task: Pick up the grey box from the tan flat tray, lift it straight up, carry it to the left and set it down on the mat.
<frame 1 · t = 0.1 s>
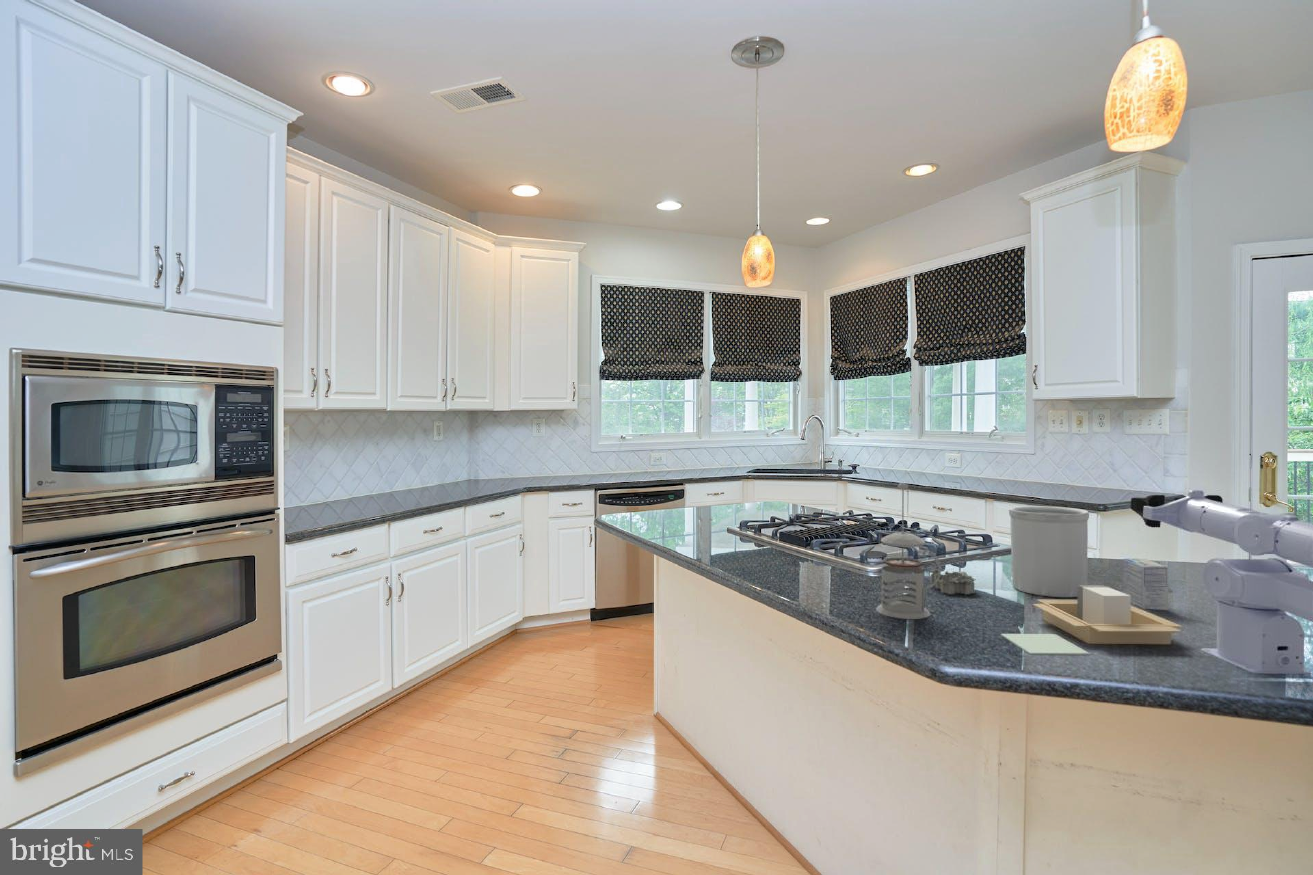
hand: (1154, 503, 115), 22 cm above the countertop, tool horizontal, fingers open, 7 cm apart
tan flat tray: (1103, 632, 110), on the countertop
french press: (907, 612, 123), on the countertop
medicine box: (1144, 606, 126), on the countertop
utensil holder: (1047, 590, 138), on the countertop
grey box: (1103, 630, 110), resting on tan flat tray
mat: (1043, 646, 103), on the countertop
egg carton: (952, 590, 140), on the countertop
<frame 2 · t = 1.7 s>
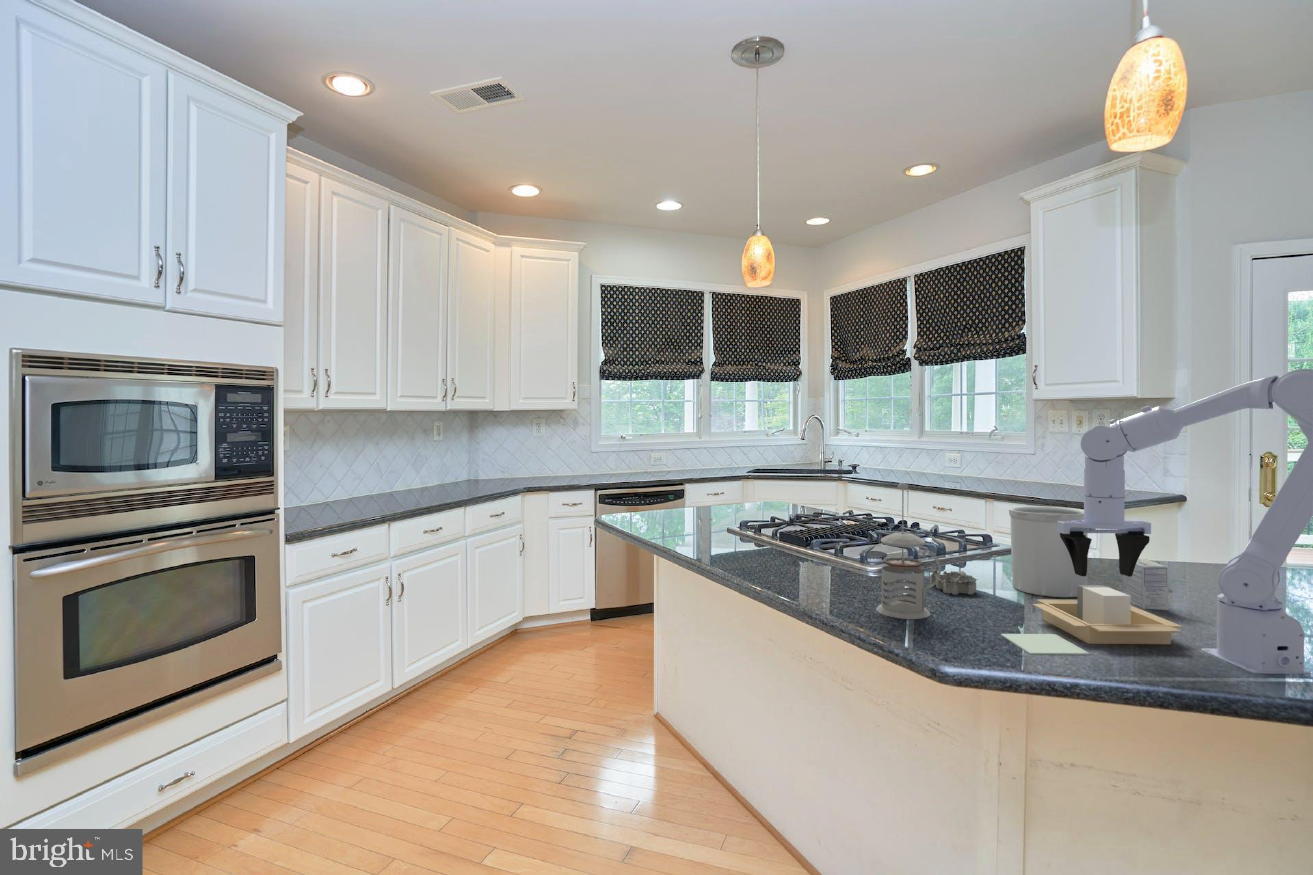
hand: (1103, 575, 110), 10 cm above the countertop, tool pointing down, fingers open, 7 cm apart
nothing on the countertop moved.
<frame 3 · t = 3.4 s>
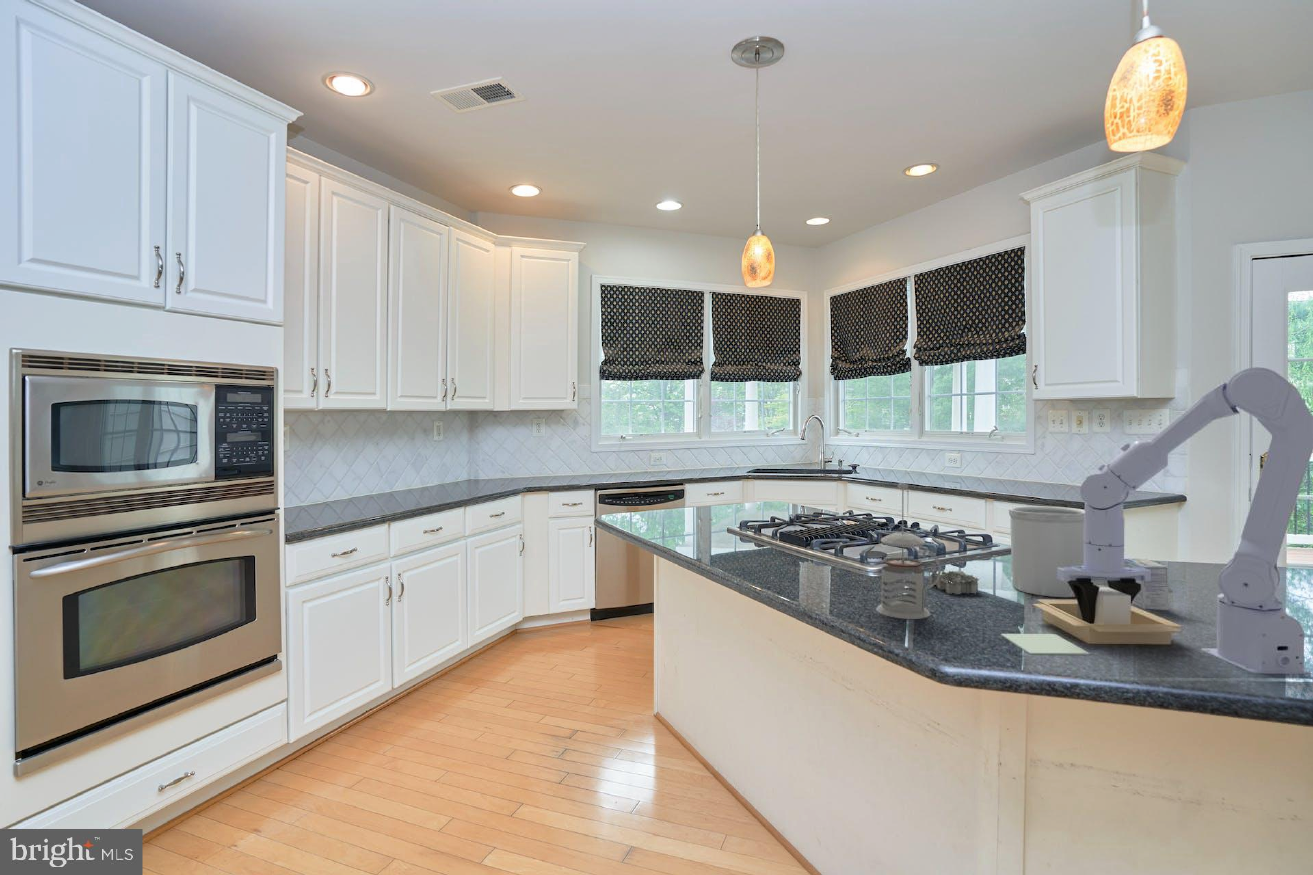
hand: (1103, 622, 110), 2 cm above the countertop, tool pointing down, fingers closed on grey box, 4 cm apart
grey box: (1103, 630, 110), resting on tan flat tray, touching gripper
everything else where it was.
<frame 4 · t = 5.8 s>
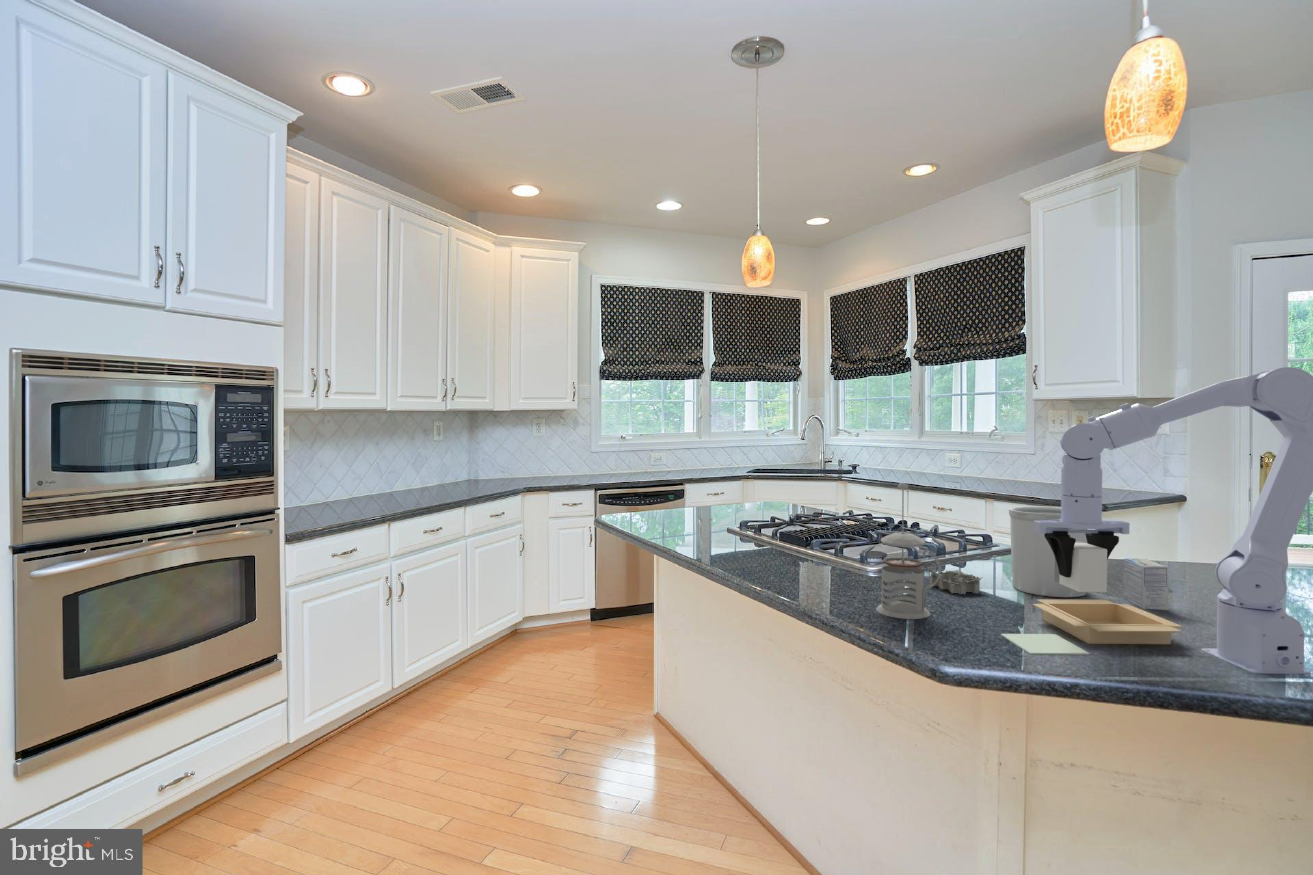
hand: (1080, 576, 107), 10 cm above the countertop, tool pointing down, fingers closed on grey box, 4 cm apart
grey box: (1079, 586, 107), point 9 cm above the countertop, touching gripper
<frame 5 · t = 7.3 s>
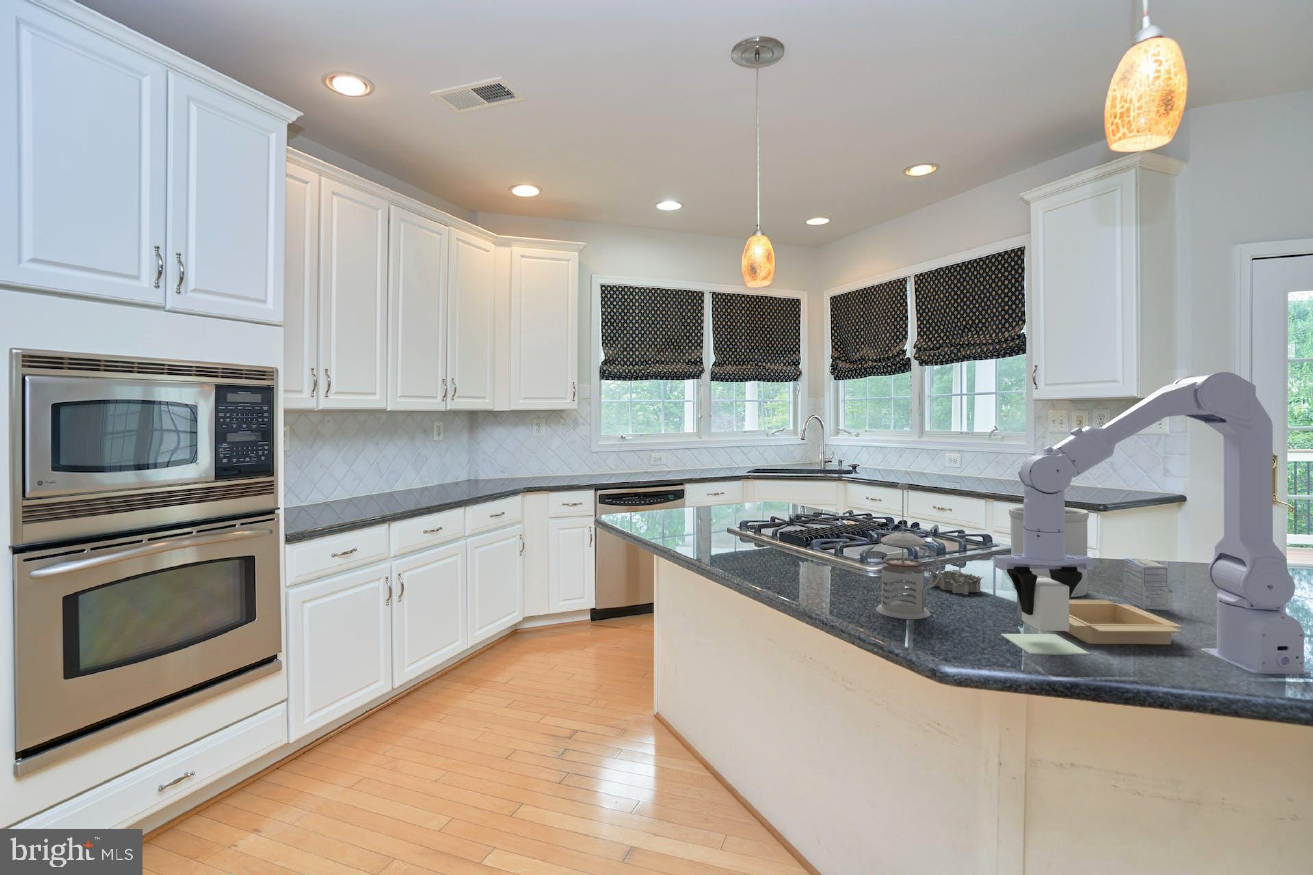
hand: (1043, 613, 103), 5 cm above the countertop, tool pointing down, fingers closed on grey box, 4 cm apart
grey box: (1042, 623, 103), point 4 cm above the countertop, touching gripper
when the fingers open (3 cm above the countertop, at t = 8.6 s): grey box stays where it is, resting on mat.
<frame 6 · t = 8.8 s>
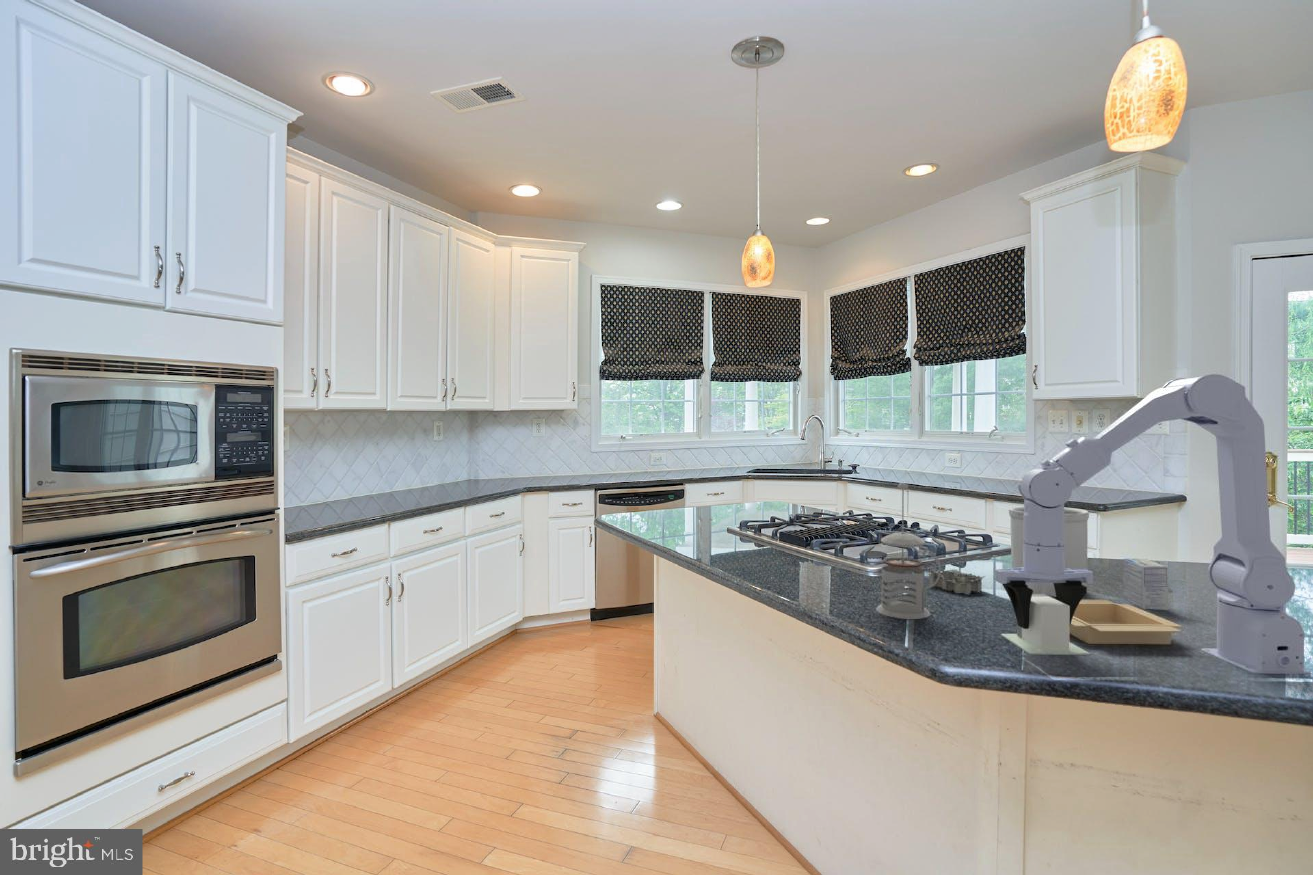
hand: (1043, 626, 103), 3 cm above the countertop, tool pointing down, fingers open, 6 cm apart
grey box: (1042, 642, 103), point 1 cm above the countertop, touching mat
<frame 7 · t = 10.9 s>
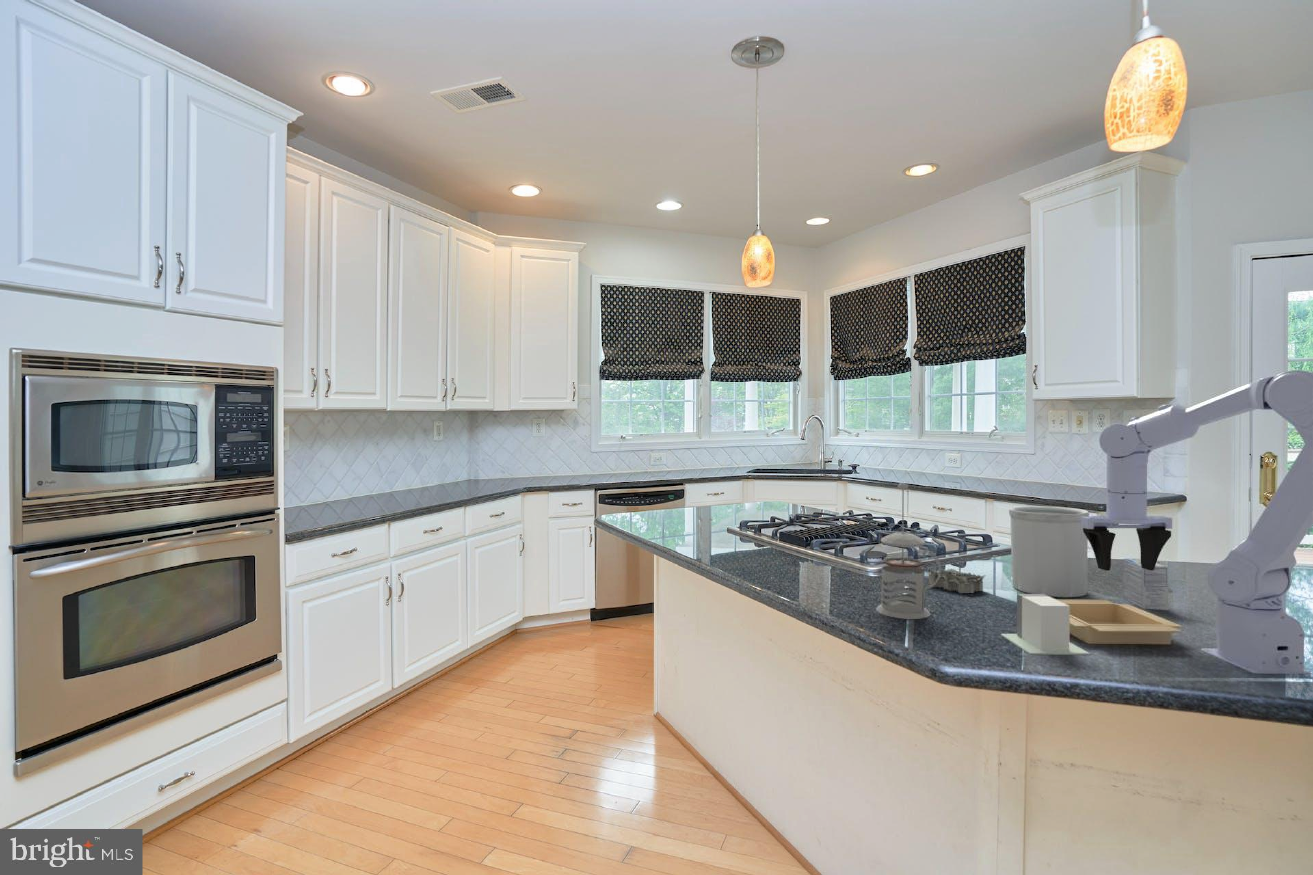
hand: (1125, 569, 112), 10 cm above the countertop, tool pointing down, fingers open, 7 cm apart
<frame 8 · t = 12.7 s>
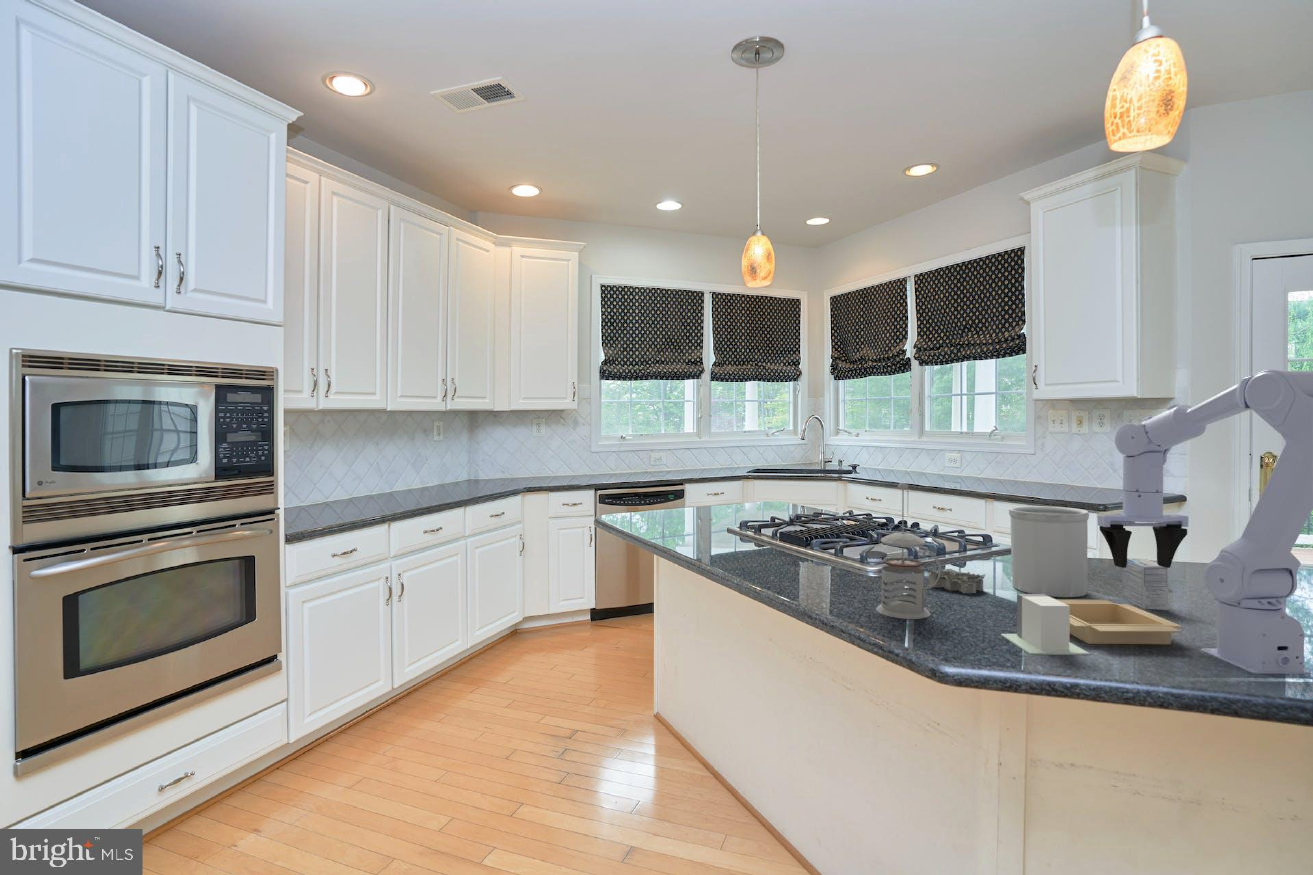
hand: (1142, 566, 114), 10 cm above the countertop, tool pointing down, fingers open, 7 cm apart
at the end: grey box inside the target area on the mat (0.2 cm from its centre), point 0.6 cm above the mat's base; grey box tilted 0°; the gripper is holding nothing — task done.
